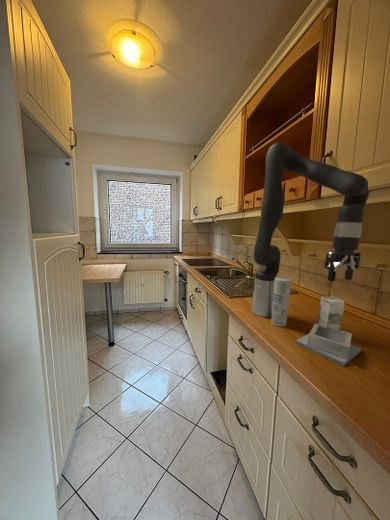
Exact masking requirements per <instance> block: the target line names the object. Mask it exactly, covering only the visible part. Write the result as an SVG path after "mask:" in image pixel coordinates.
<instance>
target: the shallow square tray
mask: <svg viewBox="0 0 390 520" xmlns="http://www.w3.org/2000/svg"><path fill="white" fill-rule="evenodd" d="M308 334H309V335H308V343H307V345H308V346H311V347H314V348H317V349H320V350H322V351H325V352H328V353H331V354H334V355H337V356H340V357H343V358H346V359H348V355H349V349H350V344H351V343H352V337H353V336H352V335H353V334H352V333H351V332H347V331H343V330H341V329H340V330H337V329H333V328H330V327H326V326H323V325H319V324H317V323H314V324H313V326H312V328H311V330H310V331H309V333H308Z"/></svg>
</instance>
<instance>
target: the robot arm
mask: <svg viewBox="0 0 390 520" xmlns="http://www.w3.org/2000/svg"><path fill="white" fill-rule="evenodd" d="M264 171H265V174H264V186H263V187H264V188H263V195H262V203H261V207H260V218H259V225H258V232H257V236H256V241H255V245H254V250H253V260H254V262H255V263H256V264H257V265H258V266H261V267H260V269H258V270H257V271H256V272H255V277H254V279H255V280H254V291H253V292H252V302H251V311H252V313H253V314H254V315H256V316H258V317H264V318H265V317H266V318H267V317H270V318H271V317H272V306H273V295H274V283H275V277H278V274H279V271H280V265H281V264H280V263H281V255H282V254H281V250H280V248H279V247H278V246H277V245H275V244H271V243H272V238H273V235H274V232H275V231H276V229H277V227H278V225H279V224H280V222H281V219H282V218H283V215H284V207H285V193H284V192H285V191H284V189H283V181H282V179H283V171H286V172H290V173H294V174H297V175H300V176H302V177H303V178H305V179H306V180H307V179H308V180H309V181H311V182H312V183H314V184H317V185H320V186H321V187H324V188H327V189H331V190H333V191H335V192H337V193H339V194H341V195H342V196H344V197H343V203H342V205H341V206H340V208H339V210H338V214H337V220H336V225H335V229H334V234H333V241H332V248H333V249H334V251H333V252H332V251H327V252H326V255H325V260H324V261H325V262H324V269H326V270H327V271H328V273H327V281H329V282H332V283H333V282H334V283H335V281H336V277H337V270H338V269H339V268H340V267H342V265H343V266H345V272H344V280H347V281H351V280H353V275H354V271H356V269H359V268H360V260H361V252H358V250H359V247H360V241H361V236H362V229H363V228H362V226H363V219H364V214H365V213H364V211H365V207H366V205H367V201H368V199H369V195H370V191H368V181H369V180H368V179H367V178H366V177H364V175H361V174H358V173H355V172H353V171H349V170H344V169H342V168H339V167H337V166H334V165H331V164H329V163H327V162H326V163H325V162H323V161H320V160H319V161H318V160H313V159H310V158H307V157H305V156H303V155H301V154H300V153H298V152H296V151H294V150H293V149H292V148H291V147H290V146H288V145H286V144H285V143H282V142H275V143H274V144H272V145H271V146H270V147H269V148H268V150H267V153H266V156H265V170H264ZM367 180H368V181H367Z"/></svg>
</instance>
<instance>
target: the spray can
mask: <svg viewBox="0 0 390 520" xmlns="http://www.w3.org/2000/svg"><path fill="white" fill-rule="evenodd" d="M291 286H292V279H291V278H290V277H284V276H276V277H275V283H274V295H273V306H272V316H271V317H270V318H271V319H270V322H271V324H272V325H275V326H277V327H286V326H287V324H288V315H289V314H288V313H289V307H290V305H289V304H290V295H291V288H292V287H291Z"/></svg>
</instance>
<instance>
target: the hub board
mask: <svg viewBox="0 0 390 520" xmlns="http://www.w3.org/2000/svg"><path fill="white" fill-rule="evenodd" d="M308 335H309V333H307V334H305V335H304V336H301V337H300V338H298V339H296V340H295V344H296V345H298V346H300V347H302V348H305V349H306V350H308V351H311V352H312V353H315V354H316V355H319V356H321V357H323V358H325V359H327V360H329V361H331V362H333V363H335V364H337V365H338V366H339V365H340V366H341V367H345V366H346V365H347V364H348V363H350V362H351V360H353V359H354V358H355V357H356V356H357V355H359V354H360V353H361V352H362V348H361V347H359V346H356V345H354V344H351V343H350V349H349V355H348V359H346V358H343V357H340V356H337V355H334V354H331V353H328V352H325V351H322V350H320V349H317V348H314V347H311V346H308V345H307V343H308Z"/></svg>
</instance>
